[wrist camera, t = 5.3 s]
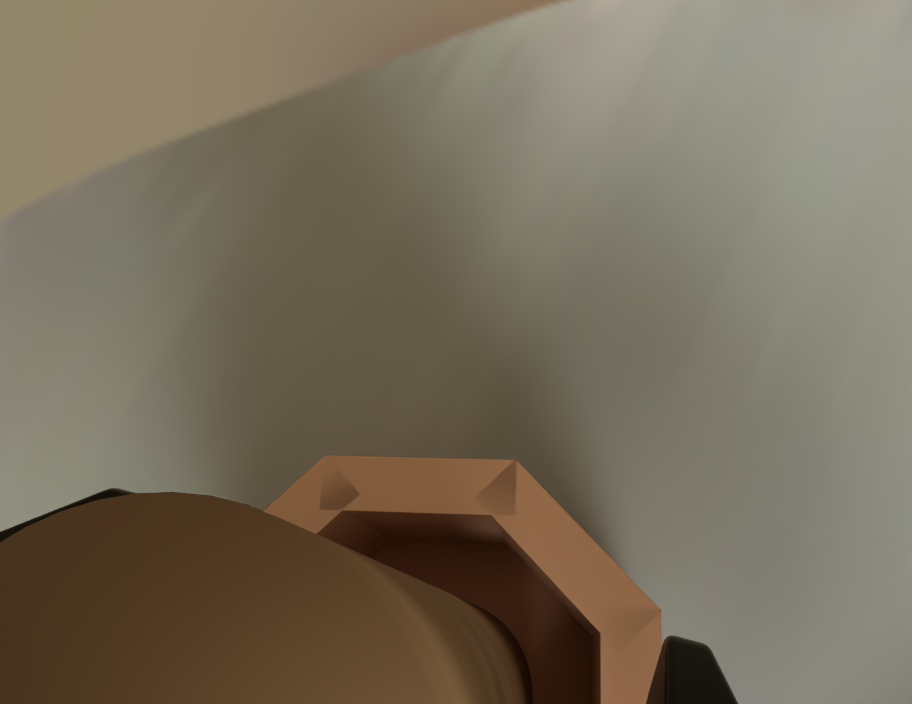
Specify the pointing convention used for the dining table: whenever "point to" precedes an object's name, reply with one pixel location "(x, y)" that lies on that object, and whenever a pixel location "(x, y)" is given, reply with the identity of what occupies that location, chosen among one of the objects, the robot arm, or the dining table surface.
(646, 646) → the terracotta cup
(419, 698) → the walnut dowel
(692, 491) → the dining table surface
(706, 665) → the robot arm
